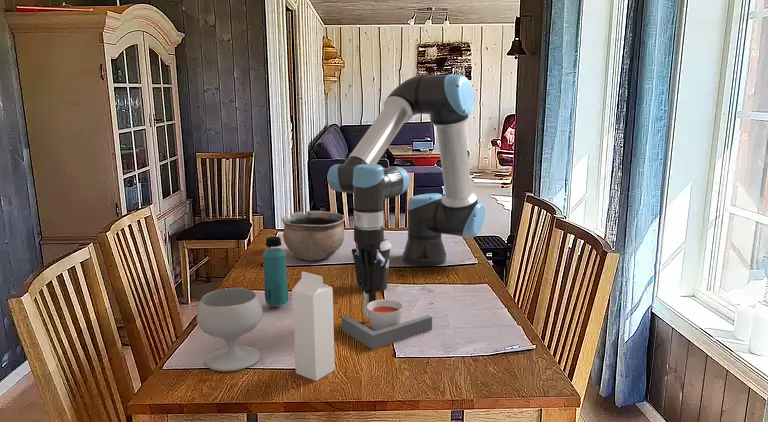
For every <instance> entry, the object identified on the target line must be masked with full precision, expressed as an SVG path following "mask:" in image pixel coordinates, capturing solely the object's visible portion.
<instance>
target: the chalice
mask: <svg viewBox="0 0 768 422" xmlns="http://www.w3.org/2000/svg"><path fill="white" fill-rule="evenodd" d="M196 313H197V314H196V323H197V326H198V327H199V328H200V330H201V331H202V332H203V333H204V334H206V335H208V336H210V337H211V336H212V337H214V338H218V339H222V340H224V342H226V344H227V347H223V348H219V349H216V350H215V351H213V352H211V353H210V354H209V355H207V357H205V359H204V364H205V366H206V367H207V368H208V369H210V370H213V371H219V372H234V371H235V372H236V371H240V370H244V369H247V368H249V367H252V366H253V365H255V364H256V363H258V361H259V360H260V358H261V352H260V351H259V350H258V349H257V348H254V347H251V346H248V345H247V346H246V345H237V344H238V343H237V342H238V340H239V339H240V338H241V337H243V336H245V335H247V334H248V333H251V332H252V331H253V330H255V328H257V327H258V325H259V324H260V323H261V321H262V318H263V308H262V304H261V300H260V298H259V296H258V295H257V293H256V292H255V291H254V290H252V289H248V288H246V287H245V288H244V287H228V288H220V289H217V290H213V291H210V292H207V293H206V294H205V295H202V298H201V299H200V301H199V303H198V307H197V312H196Z"/></svg>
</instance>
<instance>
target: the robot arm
mask: <svg viewBox="0 0 768 422" xmlns="http://www.w3.org/2000/svg"><path fill="white" fill-rule="evenodd" d="M474 102H475V92H474V87H473V86H472V83H471V81H470V80H469V79H468V78H467V77H466V76H464V75H462V74H453V73H449V74H429V75H428V74H427V75H426V74H420V75H419V74H418V75H414V76H412V77H410V78H408V79H406V80H404V81H403V82H402V83H401V84H399V85H398V86H397V87H395V88H394V89H393V90H392V91H391V92H390V94H389V95H387V97H386V99H385V100H384V103H383V109H382V110H381V111H380V113H379V114H378V115H377V117H376V119H374V121H373V122H372V124H371V126H369V128H368V130H367V131H366V132H365V133H364V135H363V136H362V138H361V139H360V140H359V142H358V144H357V145H356V146H355V147H354V149H353V150H352V151H351V153H350V154H349V156H348V157H347V159H346V160H345V161H344V163H343V164H342V163H336V164H333V165H332V166H330V168H329V170H328V172H327V178H326V179H327V185H328V187H329V188H330V189H331V190H332V191H336V192H339V193H340V192H341V193H344V194H346V193H347V194H353V225H354V228H353V241H354V243H356V247H354V248H351V254H352V257H353V262H354V269H355V276H356V282H357V286H358V287H360V289H361V291H362V299H363V300H362V301H363V316H364V317H365V318H369V316H368V311H367V304H368V303H370V302H372V301H375V300H377V293H378V292H382V291H381V290H382V283H383V277H384V270H385V266H386V263H387V261H388V260H387V258H383V257H382V255H381V248H380V244H381V243H382V242H383V240H384V237H385V236H384V235H385V232H384V227H383V226H384V224H385V216H384V215H385V214H384V212H385V210H384V201H385V200H386V199H390V198H395V197H398V196H401V195H402V194H404V193H405V192H407V191H408V189H409V187H410V184H411V179H410V176H409V175H410V174H409V173H408V172H407V170H406V169H405V168H403V167H401V166H391V167H383V166H382V165H380V164H377V163H379V161H380V159H381V158H382V156H383V155H384V153H385V152H386V151H387V149H388V148H389V146H390V145H391V143H392V141H394V139H395V137H396V136H397V134H398V133H399V131H400V129H401V128H402V126H403V125H404V124H405V123H407V122H410V121H411V119H412V118H413V117H414V116H416V115H420V114H422V115H429V118H430V123H431V125H433V126H435V127H436V133H437V134H436V135H437V141H438V149H439V156H440V164H441V165H440V166H441V172H442V178H443V179H442V180H443V185H444V186H443V188H444V195H442V194H441V193H436V192H435V193H424V194H418V195H413V196H411V197H409V199H408V203H407V210H406V211H407V241H406V243H405V248H404V251H403V253H402V260H403V261H404V262H405V263H406V264H408V265H413V266H421V267H429V266H430V267H431V266H438V265H442V264H444V263H445V262H446V261H447V253H446V250H445V246H444V242H443V239H442V234H443V235H449V236H458V237H462V238H474V237H475V238H476V237H477V236H478V235H479V234H480V233H481V231H482V229H483V225H484V222H485V219H486V206H485V205H484V203H482V202H478V195H477V194H476V193H475V192H474V191H472V182H471V172H470V165H469V164H470V163H469V154H468V145H467V135H466V127H465V126H466V125H465V123H466V122H467V121H468V119H469V115H470V114H472V112H473V110H474V107H475V103H474Z"/></svg>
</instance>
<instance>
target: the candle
mask: <svg viewBox="0 0 768 422" xmlns="http://www.w3.org/2000/svg"><path fill="white" fill-rule="evenodd" d="M403 308H404V305H403V303H401V301H399V300H394V299H376V300H375V301H372V302H370V303H368V304H367V311H368V316H369V317H368V318H369V325H370V329H371V330H373V331H378V330H381V329H384V328H388V327H391V326H394V325H397V324H401V319H402V316H403V315H402V314H403V310H404V309H403Z"/></svg>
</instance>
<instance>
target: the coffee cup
mask: <svg viewBox="0 0 768 422" xmlns="http://www.w3.org/2000/svg"><path fill="white" fill-rule="evenodd" d="M380 248H381V255H382V257H383V258H387V260H388V261H387V263H386V266H385V270H384V277H383V283H382V290H381V291H380V292H383V291H385V290H387V289H388V280H389V266H390V255H391V254H390V253H391V249H392V243H391V242H390V239H389V238H387V237H385V236H384V240H383V242H382V243H381V244H380Z"/></svg>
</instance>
